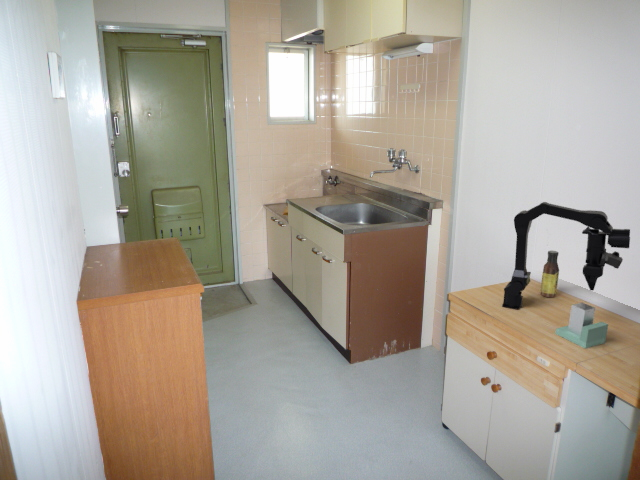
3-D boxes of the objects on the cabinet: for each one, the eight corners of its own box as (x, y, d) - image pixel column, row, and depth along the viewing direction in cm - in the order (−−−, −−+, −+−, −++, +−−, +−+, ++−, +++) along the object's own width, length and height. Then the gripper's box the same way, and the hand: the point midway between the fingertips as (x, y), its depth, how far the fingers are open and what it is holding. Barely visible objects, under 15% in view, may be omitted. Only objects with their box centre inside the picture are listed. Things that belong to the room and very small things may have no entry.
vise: (555, 333, 170) (557, 315, 168) (574, 328, 174) (577, 311, 172) (585, 348, 159) (588, 329, 157) (605, 342, 163) (608, 324, 161)
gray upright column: (567, 330, 168) (571, 304, 165) (577, 328, 170) (581, 302, 167) (580, 336, 163) (585, 310, 160) (590, 334, 165) (595, 307, 162)
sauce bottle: (557, 298, 201) (564, 254, 196) (541, 297, 202) (547, 253, 197) (553, 293, 207) (559, 250, 202) (538, 292, 209) (544, 249, 203)
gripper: (621, 254, 160) (617, 297, 163) (622, 242, 175) (619, 281, 178) (583, 251, 166) (580, 293, 170) (588, 239, 181) (585, 278, 185)
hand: (592, 286), depth 175 cm, fingers open, 9 cm apart
